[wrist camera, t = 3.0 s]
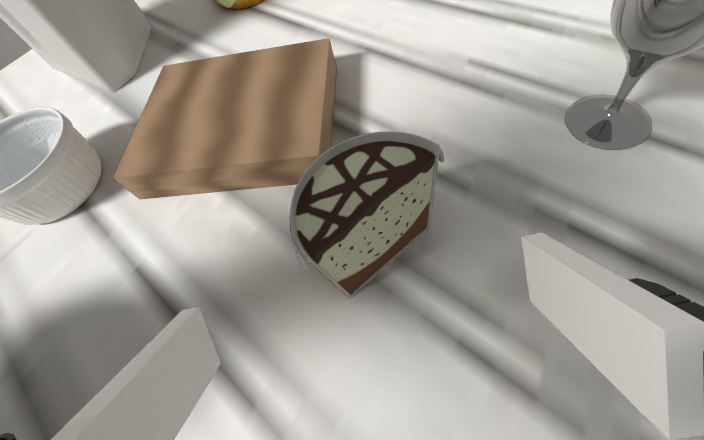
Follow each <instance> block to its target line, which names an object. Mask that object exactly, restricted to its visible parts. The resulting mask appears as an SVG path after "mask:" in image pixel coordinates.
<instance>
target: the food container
mask: <svg viewBox="0 0 704 440" xmlns="http://www.w3.org/2000/svg"><path fill="white" fill-rule="evenodd" d="M438 161H441V162H444V157H443V152H442V150H441V149H440V146H439V145H437V144H435V143H434V142H432V141H430V140H427V139H425V138H422V137H420V136H417V135H412V134H408V133H402V132H375V133H368V134H363V135H359V136H356V137H353V138H350V139H348V140H345V141H343V142H341V143H339V144H337V145H335V146H333V147H332V148H330V149H329V150H327V151H326V152H324V153H323V154H322V155H321V156H319V157H318V158H317V159H316V160H315V161H314V162H313V163H312V164H311V165H310V166H309V167H308V169H307V170H306V171H305V173H304V174H303V176H302V177H301V179H300V180H299V182H298V185H297V187H296V189H295V191H294V195H293V198H292V202H291V210H290V231H291V235H292V239H293V243H294V247H295V250H296V254H297V256H298V258H299V260H300V262H301V265H302V266H303V267H304V269H305V270H306V272H307V273H308V275H309V274H310V269H309V265H308V263H309V262H311V263H312V264H313V265H314V266H315V267H316V268H317V269H318V270H319V271H320V272H321V273H323V274H324V275H325V276H326V277H327V278H328V279H329V280H330V281H331V282H332V283H334V284H335V285H336V286H337V287H338V288H339V289H340V290H341V291H342V292H343V293H345V294H346V295H347V296H348V297H349V298H351V297H352V296H353V295H354V294H355V293H356V292H358V291H359V290H360V289H361V288H362V287H363V286H364V285H365V284H367V283H368V282H369V281H370V280H371V279H372V278H373V277H375V276H376V275H377V274H378V273H379V272H380V271H381V270H383V269H384V268H385V267H386V266H387V265H388V264H389V263H390V262H392V261H393V260H394V259H395V258H396V257H397V256H398V255H400V254H401V253H402V252H403V251H404V250H405V249H406V248H407V247H409V246H410V245H411V244H412V243H413V242H414V241H415V240H417V239H418V238H419V237H420V236H421V235H422V234H423V233H425V232H426V231H427V230H428V229H429V227H430V219H431V212H432V205H433V197H434V190H435V183H436V175H437V168H438Z"/></svg>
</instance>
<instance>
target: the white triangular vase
mask: <svg viewBox="0 0 704 440" xmlns="http://www.w3.org/2000/svg"><path fill="white" fill-rule="evenodd" d="M0 18H1V19H3V21H5V22H6V23H7V24H8V25H9V26H10V27H11V28H12V29H13V30H14V31H15V32H16V33H17V34H18V35H19V36H20V37H21V38H22V39H23V40H24V41H25V42H27V44H29V46H31V47H32V48H33V49H34V50H35V51H36V52H37V53H38V54H39V55H40V56H41V57H42V58H43V59H44V60H45V61H46V62H47V63H48V64H49V65H50V66H51V67H52V68H54V69H56V70H59V71H61V72H63V73H66V74H68V75H70V76H73V77H75V78H77V79H80V80H82V81H84V82H87V83H89V84H91V85H94V86H96V87H98V88H101V89H103V90H105V91H108V92H110V93H113V92H116V91H117V90H118V89H120V88H121V87H122V86H123V85H124V84H125V83H127V82H128V81H129V80H130V79H131V78H132V77H133V76H134V75H135V74H136V73H137V70H138V67H139V64H140V62H141V59H142V56H143V53H144V50H145V47H146V44H147V41H148V38H149V35H150V32H151V30H152V25H151V24H150V22H149V21H148V20H147V18H146V17H145V15H144V14H143V12H142V11H141V9H140V8H139V6H138V5H137V4H136V2H135V1H134V0H0Z"/></svg>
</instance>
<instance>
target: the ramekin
mask: <svg viewBox="0 0 704 440" xmlns="http://www.w3.org/2000/svg"><path fill="white" fill-rule="evenodd" d="M100 176H101V160H100V157H99V155H98V153H97V152H96V150H95V149H94V148H93V147H92V146H91V145H90V144H89V142H88V141H87V140H86V139H85V138H84V137H83V136H82V135H81V134H80V133H79V132H78V131H77V130H76V129H75V128H74V127H73V126H72V123H71V122H70V120H69V119H68V118H66V117H65V116H64V115H63V114H62V113H60V112H59V111H57V110H55V109H53V108H49V107H37V108H32V109H28V110H24V111H21V112H18V113H16V114H14V115H11V116H9V117H7V118H5V119H4V120H2V121H0V217H2V218H5V219H8V220H11V221H14V222H17V223H21V224H28V225H37V224H44V223H50V222H53V221H56V220H58V219H61V218H63V217H65V216H66V215H68V214H70V213H71V212H73V211H74V210H76V209H77V208H78V207H79V206H80V205H82V204H83V203H84V202H85V201H86V200H87V199H88V197H89V196H90V195H91V194H92V192H93V191H94V189H95V188H96V186H97V184H98V182H99V180H100Z"/></svg>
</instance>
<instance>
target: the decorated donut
mask: <svg viewBox="0 0 704 440" xmlns="http://www.w3.org/2000/svg"><path fill="white" fill-rule="evenodd" d="M214 1H215V2H216V3H217V4H219V5H220V6H222V7H225V8H231V9H237V10H240V9H244V8H247V7H251V6H253V5H256V4H259V3H261V1H262V0H214Z"/></svg>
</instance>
